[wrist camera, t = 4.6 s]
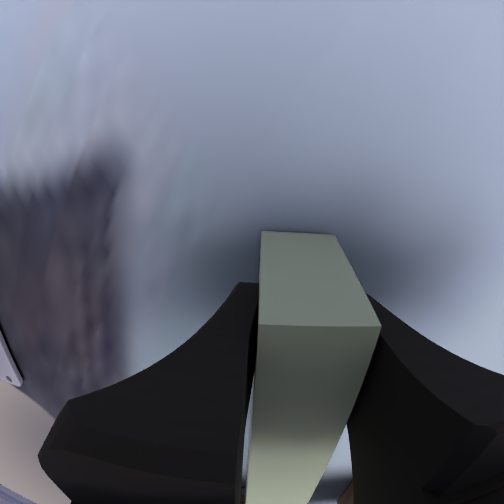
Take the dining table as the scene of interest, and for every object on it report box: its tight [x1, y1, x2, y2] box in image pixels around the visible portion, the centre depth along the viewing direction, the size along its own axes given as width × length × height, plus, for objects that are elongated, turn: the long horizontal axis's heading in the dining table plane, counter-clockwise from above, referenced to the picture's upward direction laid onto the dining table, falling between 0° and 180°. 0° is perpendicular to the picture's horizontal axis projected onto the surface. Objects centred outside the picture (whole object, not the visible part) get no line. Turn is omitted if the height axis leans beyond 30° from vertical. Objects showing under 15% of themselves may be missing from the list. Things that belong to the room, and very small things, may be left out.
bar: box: [245, 231, 382, 504], centre depth 11 cm, size 2×16×5 cm, turn 178°
